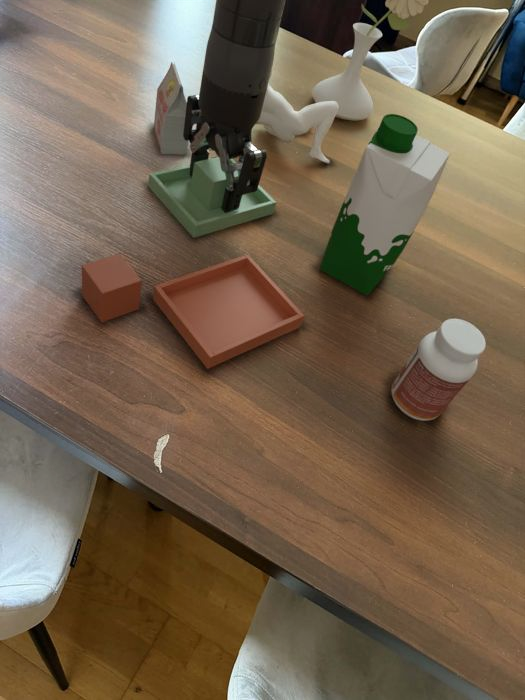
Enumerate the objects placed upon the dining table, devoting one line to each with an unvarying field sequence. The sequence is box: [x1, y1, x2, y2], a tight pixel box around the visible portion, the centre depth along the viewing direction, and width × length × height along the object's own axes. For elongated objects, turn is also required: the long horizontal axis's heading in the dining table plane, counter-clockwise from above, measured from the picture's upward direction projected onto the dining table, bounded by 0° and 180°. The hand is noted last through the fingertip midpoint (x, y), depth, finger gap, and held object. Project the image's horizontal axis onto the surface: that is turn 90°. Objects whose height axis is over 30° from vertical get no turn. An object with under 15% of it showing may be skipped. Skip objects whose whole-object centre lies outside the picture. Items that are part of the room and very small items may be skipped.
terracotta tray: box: [152, 253, 306, 370], centre depth 65 cm, size 13×11×2 cm
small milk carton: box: [153, 61, 189, 156], centre depth 81 cm, size 4×7×10 cm, turn 16°
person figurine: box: [255, 70, 339, 164], centre depth 88 cm, size 13×13×18 cm
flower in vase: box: [311, 0, 430, 122], centre depth 94 cm, size 13×11×25 cm
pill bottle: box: [391, 318, 487, 422], centre depth 60 cm, size 6×6×11 cm
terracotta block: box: [81, 253, 143, 323], centre depth 61 cm, size 4×4×4 cm
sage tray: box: [147, 159, 277, 239], centre depth 78 cm, size 13×11×2 cm
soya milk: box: [319, 113, 451, 297], centre depth 69 cm, size 9×9×20 cm
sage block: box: [190, 156, 239, 211], centre depth 76 cm, size 4×4×4 cm
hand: (212, 193), depth 78 cm, fingers open, 7 cm apart
